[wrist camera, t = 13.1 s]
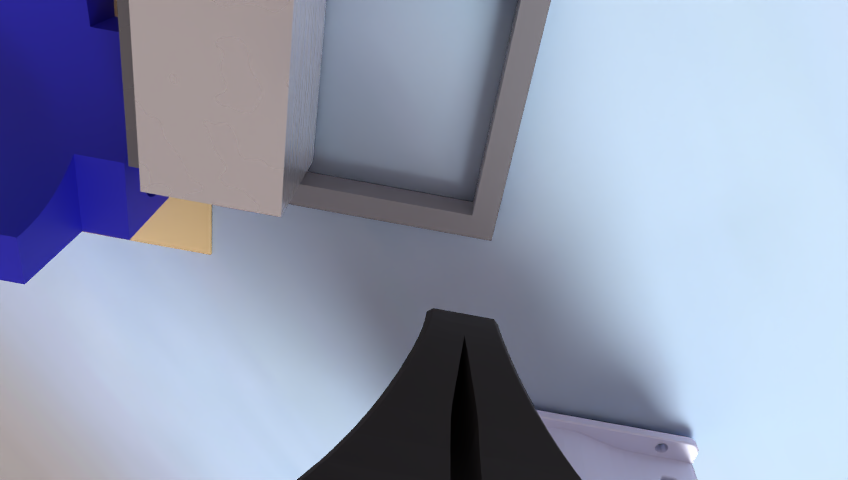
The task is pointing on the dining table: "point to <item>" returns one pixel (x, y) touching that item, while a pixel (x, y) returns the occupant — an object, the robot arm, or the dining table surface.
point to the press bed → (193, 220)
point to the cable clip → (62, 133)
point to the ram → (221, 97)
